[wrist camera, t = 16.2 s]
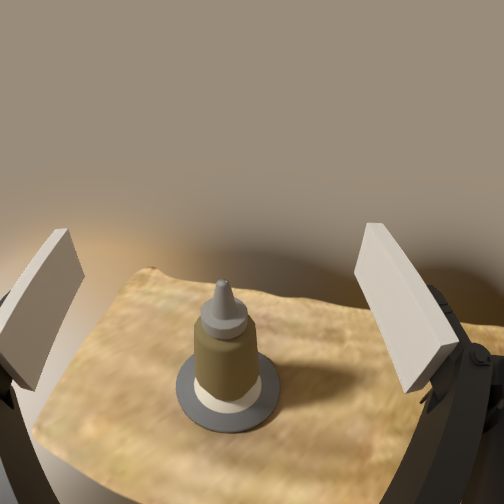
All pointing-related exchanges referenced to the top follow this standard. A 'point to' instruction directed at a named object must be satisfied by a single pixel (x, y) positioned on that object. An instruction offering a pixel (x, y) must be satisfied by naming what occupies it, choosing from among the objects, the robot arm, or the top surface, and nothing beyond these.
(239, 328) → the squeeze bottle
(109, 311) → the top surface
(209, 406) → the coaster
